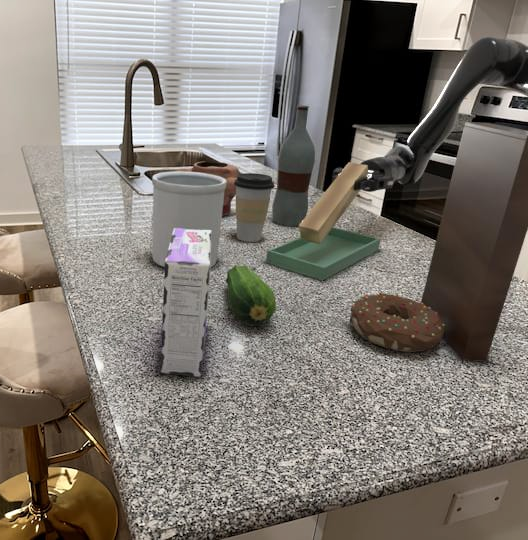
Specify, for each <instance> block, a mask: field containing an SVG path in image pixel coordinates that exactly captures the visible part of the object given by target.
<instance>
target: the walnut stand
mask: <svg viewBox="0 0 528 540" xmlns="http://www.w3.org/2000/svg"><path fill="white" fill-rule="evenodd" d="M527 233H528V130H525V129H521V128H516V127H511V126H505V125H502V124H500V125H499V124H496V123H492V122H478V121H477V122H475V121H465V122H464V126H463V130H462V135H461V138H460V141H459V146H458V150H457V155H456V159H455V161H454V167H453V171H452V175H451V179H450V183H449V186H448V191H447V195H446V199H445V203H444V207H443V211H442V215H441V219H440V223H439V227H438V232H437V236H436V239H435V242H434V243H435V245H434V247H433V252H432V256H431V259H430V264H429V267H428V272H427V276H426V279H425V285H424V289H423V293H422V296H421V300H420V303H423V305H426V306H427V307H430V308H431V310H433V311H435V312H437V314H438V315H439V317H440V319H441V320H442V322H443V324H444V328H445V330H444V333H443V337H442V340H443V341H445V343H446V344H447V345H448V346H449V347H450V349H452V350H453V351H454V353H456V355H457V356H458V357H459V359H461V360H462V361H474V362H487V360H488V357H489V353H490V351H491V347H492V345H493V344H492V343H493V341H494V338H495V334H496V332H497V328H498V325H499V321H500V318H501V316H502V312H503V310H504V306H505V304H506V300H507V297H508V294H509V291H510V287H511V285H512V281H513V277H514V274H515V271H516V267H517V265H518V261H519V258H520V255H521V252H522V249H523V245H524V242H525V239H526V236H527Z"/></svg>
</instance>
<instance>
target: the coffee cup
mask: <svg viewBox="0 0 528 540" xmlns="http://www.w3.org/2000/svg"><path fill="white" fill-rule="evenodd" d="M234 185H235V186H236V195H235V219H236V238H237V240H238V241H240V242H241V241H242V242H246V243H257V242H260V241H261V240H262V235H263V231H264V227H265V222H266V220H267V215H268V211H269V207H270V202H271V194H272V191H273V190H272V189H274V188H275V187H276V186H275V182H274V180H273V176H270V175H268V174H264V173H256V172H255V173H254V172H245V173H244V172H243V173H240V174H239V175H238V177H237V179H235V182H234Z"/></svg>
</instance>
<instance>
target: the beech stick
mask: <svg viewBox="0 0 528 540" xmlns="http://www.w3.org/2000/svg"><path fill="white" fill-rule="evenodd" d="M342 169H343V170H342V171H341V173H340V174H339V175H338V177H337V178H336V179H335V180H334V182H333V183H332V184H330V185H329V187H328V188H327V189H326V190H325V192H324V193H323V194H322V195H321V197H320V198H318V200H317V201H316V203H315V204H314V205H313V207H312V208H311V209H310V211H309V212H307V215H306V217H305V218H304V220H303V221H302V222H301V223H300V225H299V226H298V231H299V235H300V237H301V239H302V240H306V241H309V242H313V243H316V244H321V243H322V241H323V240H324V239H325V237H326V236H327V235H328V233H329V232H330V231H331V229H332V228H333V227H335V225H336V224H337V223H338V222H339V220H340V219H341V217H342V216H343V215H344V213H345V212H346V210H348V208H349V207H350V205H351V204H352V202H353V201H354V200H355V199H356V197H357V196H358V195H359V193H360V192H361V190H358V191H356V190H354V184H355V180H358V179H361V178H365V177H366V176H367V175H368V165H363V164H360V163H356V162H350V161H349V162H348V163H347V164H345V166H344V168H342Z"/></svg>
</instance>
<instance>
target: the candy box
mask: <svg viewBox="0 0 528 540" xmlns="http://www.w3.org/2000/svg"><path fill="white" fill-rule="evenodd" d="M211 239H212V231H211V230H201V229H182V228H174V230H173V233H172V237H171V241H170V244H169V248H168V252H167V255H166V259H165V267H164V273H163V297H162V318H161V319H162V320H161V321H162V322H161V345H160V346H161V347H160V371H159V372H160V373H161V374H168V375H176V376H177V375H179V376H185V377H186V376H187V377H195V378H196V377H197V378H201V376H202V375H203V363H204V353H205V343H206V334H207V322H208V312H209V311H208V309H209V297H210V282H211V268H212V267H211Z"/></svg>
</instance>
